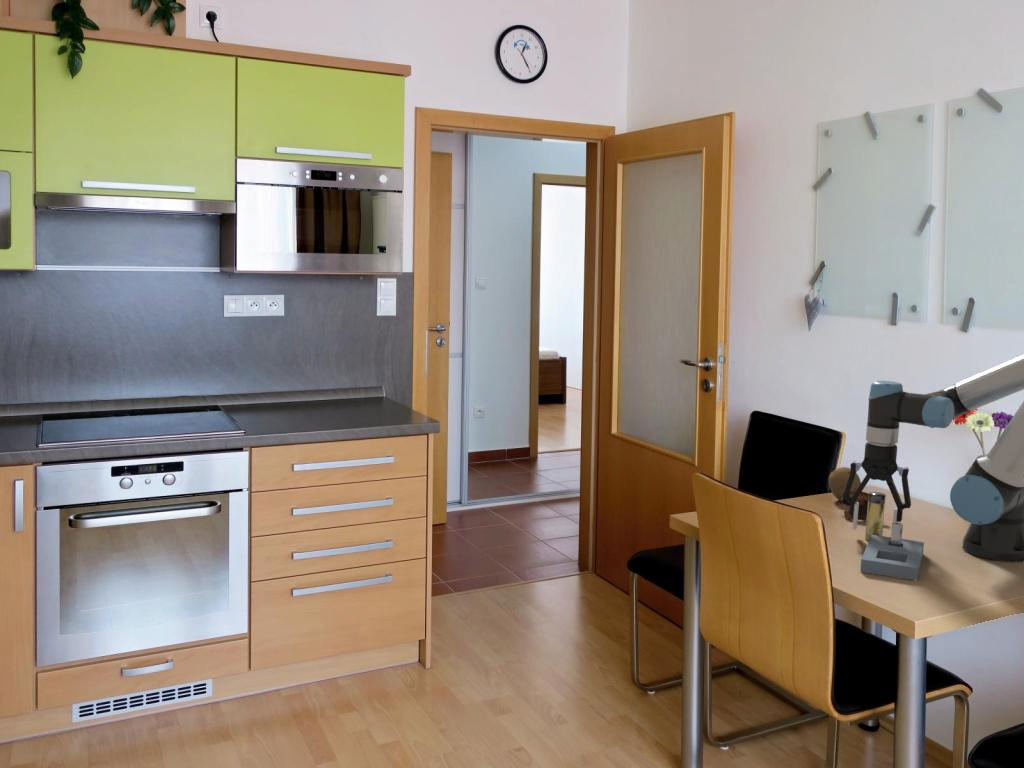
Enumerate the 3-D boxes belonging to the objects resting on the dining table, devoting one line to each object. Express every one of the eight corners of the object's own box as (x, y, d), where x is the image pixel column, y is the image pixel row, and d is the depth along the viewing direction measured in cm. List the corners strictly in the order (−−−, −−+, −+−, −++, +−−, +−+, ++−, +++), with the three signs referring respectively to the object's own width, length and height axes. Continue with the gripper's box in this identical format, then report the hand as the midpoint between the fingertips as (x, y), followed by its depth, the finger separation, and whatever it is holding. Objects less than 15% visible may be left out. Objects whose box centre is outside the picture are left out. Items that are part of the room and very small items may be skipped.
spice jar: (882, 539, 252) (886, 493, 250) (881, 543, 249) (884, 496, 247) (866, 536, 254) (869, 491, 252) (864, 540, 250) (868, 494, 249)
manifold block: (923, 554, 241) (924, 542, 240) (916, 580, 221) (918, 567, 221) (870, 546, 246) (871, 534, 245) (860, 571, 226) (861, 559, 226)
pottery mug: (832, 519, 272) (833, 490, 275) (847, 528, 278) (847, 500, 281) (876, 516, 264) (876, 487, 267) (890, 526, 270) (890, 497, 273)
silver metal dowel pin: (900, 555, 239) (903, 523, 238) (899, 558, 237) (902, 526, 236) (889, 554, 240) (892, 522, 239) (888, 556, 238) (891, 524, 237)
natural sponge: (843, 495, 295) (845, 462, 294) (866, 503, 288) (869, 469, 286) (820, 498, 291) (823, 465, 290) (843, 506, 283) (846, 472, 282)
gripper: (928, 445, 246) (920, 533, 250) (838, 435, 256) (832, 521, 259) (927, 450, 240) (918, 541, 243) (834, 440, 249) (828, 528, 252)
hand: (874, 530), depth 251 cm, fingers open, 9 cm apart
